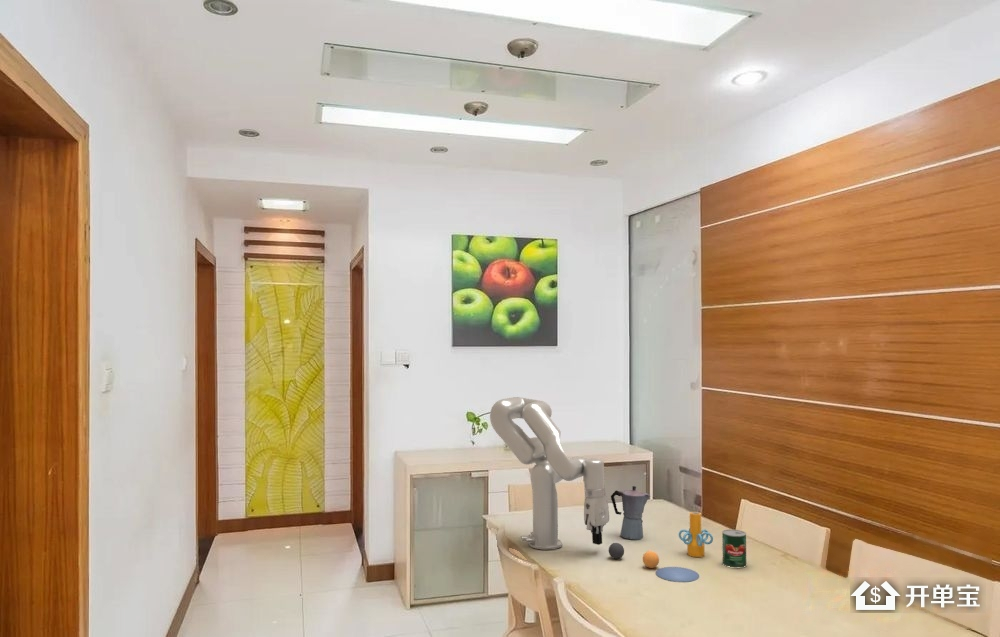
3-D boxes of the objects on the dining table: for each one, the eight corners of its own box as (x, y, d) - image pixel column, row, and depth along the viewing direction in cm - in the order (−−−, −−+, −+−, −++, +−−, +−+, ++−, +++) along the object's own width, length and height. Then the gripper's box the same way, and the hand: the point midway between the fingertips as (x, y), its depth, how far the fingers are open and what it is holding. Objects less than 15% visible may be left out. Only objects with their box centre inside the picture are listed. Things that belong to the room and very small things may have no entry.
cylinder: (675, 556, 243) (675, 514, 243) (682, 548, 252) (681, 508, 252) (710, 561, 237) (709, 518, 237) (715, 553, 246) (715, 511, 247)
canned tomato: (731, 569, 229) (730, 536, 229) (718, 562, 237) (717, 530, 237) (751, 567, 231) (751, 534, 231) (737, 559, 239) (737, 528, 239)
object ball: (647, 571, 228) (647, 554, 228) (639, 565, 233) (639, 549, 233) (662, 569, 229) (661, 553, 229) (654, 564, 234) (653, 548, 235)
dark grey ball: (612, 561, 237) (612, 545, 237) (606, 556, 243) (605, 541, 243) (627, 560, 239) (626, 544, 239) (620, 555, 244) (619, 540, 244)
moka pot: (653, 540, 262) (652, 488, 263) (613, 540, 262) (612, 488, 263) (648, 533, 271) (647, 483, 272) (609, 533, 272) (609, 483, 272)
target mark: (669, 584, 215) (669, 583, 215) (648, 569, 229) (648, 569, 229) (707, 579, 219) (707, 578, 219) (684, 565, 233) (684, 565, 233)
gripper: (591, 497, 240) (593, 550, 239) (615, 490, 251) (617, 540, 250) (574, 495, 245) (576, 546, 244) (598, 488, 256) (600, 537, 255)
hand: (597, 543), depth 247 cm, fingers closed
